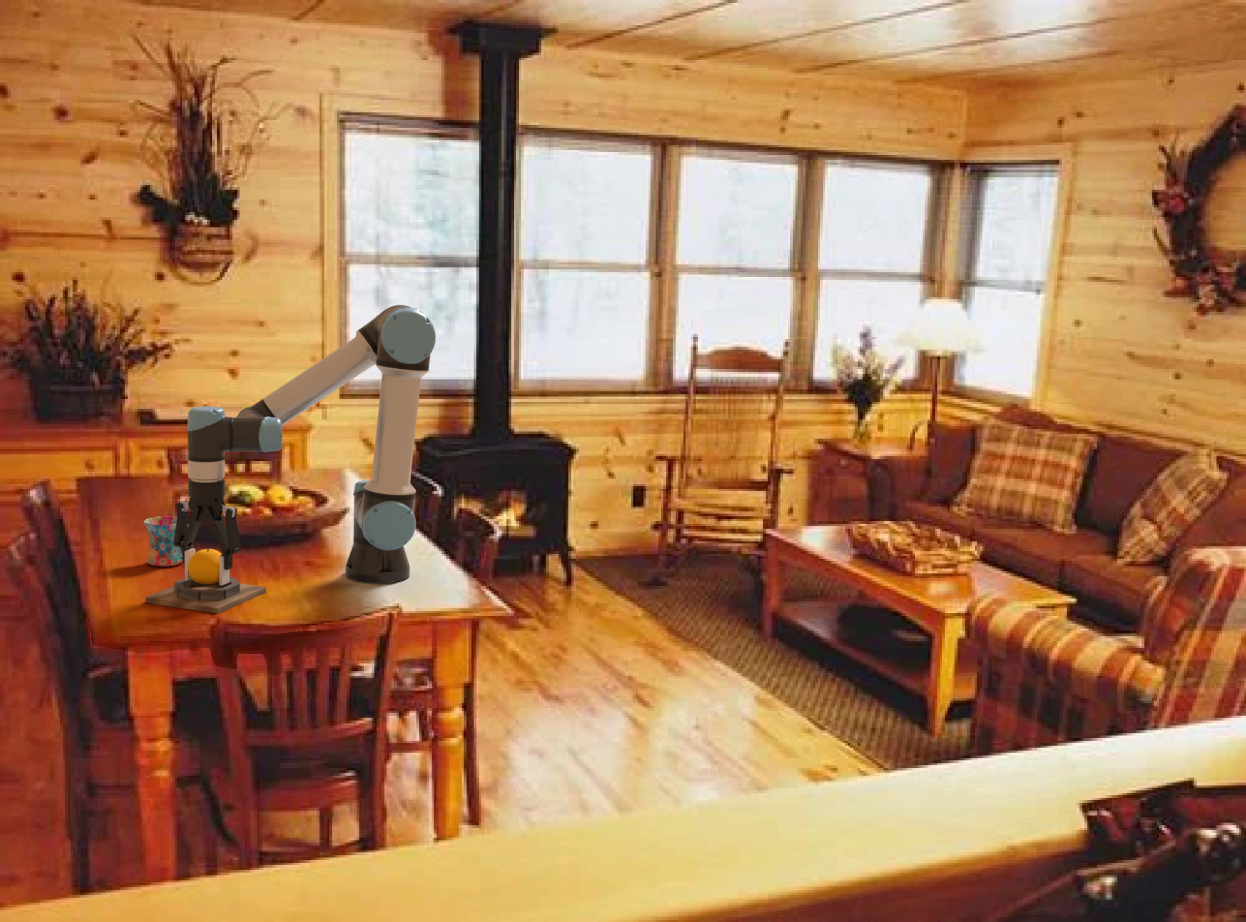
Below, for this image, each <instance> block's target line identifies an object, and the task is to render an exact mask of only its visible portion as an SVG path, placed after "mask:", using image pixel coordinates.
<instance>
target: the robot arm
mask: <svg viewBox="0 0 1246 922" xmlns="http://www.w3.org/2000/svg"><path fill="white" fill-rule="evenodd" d="M436 335H437V334H436V329H435V326H434V324H433V322H432V320H431V319H430V318H429V316H427V314H425V313H424V312H422V311H421V310H419V309H417V308H414V307H411V306H408V305H404V304H396V305H392V306H389V307H387V308H386V309H384V310H383V311H381V312H380V313H379V314H378V315H376V316H375V317H374V318H372V319H371V320H370V321H369V322H367V323H366V324H365V325H364V326H363V325H362V327H360V328H359V329H358V330H356V331H355V337H353V339H351V340H349V341H347V342H346V343H345V344H343V345H342V346H340V347H339V348H337V349H335V350H334V351H332V352H331V353H330V354H327V355H326V357H323V358H322V359H321V360H319V361H317V362H316V363H314V364H313V365H311V366H310V367H308V368H307V369H305V370H304V371H302V372H301V373H300V374H298V375H297V376H295V377H293V378H292V379H290V380H289V381H287V382H286V383H284V384H283V385H281V386H280V387H278V388H277V389H275V390H274V391H273V392H271V393H269V394H268V395H267V396H265V397H263V398H262V399H261V400H259V401H257V402H255V404H253V405H251V406H246V407H245V408H243V409H241V410H240V411H239V412H238V414H237V416H234V417H233V416H226V412H225V409H224V408H222V407H219V406H208V405H207V406H196V407H192V408H190V410H189V411H188V413H187V432H186V433H187V477H188V478H189V480H188V481H187V482H188V483H187V488H188V489H187V492H188V493H187V496H188V497H189V500H188V501H186V500H183V501H180V502H176V512H177V515H176V517H177V522H176V529H175V536H174V543H173V544H174V546H178V547H180V549H182V550H181V553H182V564H183V565H184V578H185V580H190V579H192V578H191V576H190V574H189V571H188V564H189V561H190V559H191V557H192V556H193V555H194V554H195V553H196V548H194V547H195V545H194V543H195V540H196V537H197V535H198V533H199V530H200V528H201V525H202V523H203V522H205V523H209V525H210V527H212V530H213V533H214V534H215V538H216V540H217V542H218V545H219V548H220V551H221V555H220V556H219V585H224V584H227V583H229V582H230V577H231V576H230V572H231V571H230V570H231V569H233V563H234V562H233V557H234V554H237V553H239V552H241V550H242V546H241V541H240V535H239V527H238V521H237V520H238V519H237V515H238V508H237V506H234V507H230V506H227V505H226V502H225V500H224V499H225V495H226V481H225V480H224V478H225V477H226V476H225V475H226V468H225V467H226V466H225V465H226V463H225V461H226V457H225V453H226V452H229V453H232V452H237V453H238V452H248V453H249V452H250V453H251V452H255V453H257V452H258V453H259V452H260V453H262V452H263V453H268V452H279V451H281V449H282V447H283V426H285V425H286V424H288V422H290V421H292V420H293V419H295V418H296V417H298V416H299V415H301V414H303V413H304V412H305V411H307V410H309V409H310V408H312V407H313V406H314V405H316V404H317V403H319V402H321V401H322V400H323V399H325V398H327V397H328V396H330V395H331V394H332V393H334V392H335V391H337V390H339V389H340V388H341V387H343V386H345V385H346V384H348V383H349V382H351V381H352V380H354V379H355V378H357V377H358V376H359V375H361V374H363V373H364V372H365V371H367V370H368V369H371V368H372V367H373V366H376V368H377V369H378V371H380V372H381V382H380V389H379V390H380V391H379V400H378V401H379V403H378V411H377V422H376V429H375V432H376V433H375V439H374V452H373V460H372V468H371V469H372V470H371V478H370V480H367V479H366V480H359V481H357V482H356V483H355V484H354V488H353V489H354V491H353V493H352V495H353V533H352V534H353V540H352V541H353V543H352V546H351V549H350V552H349V555H348V557H347V558H348V559H347V561H346V564H345V569H344V575H345V577H346V579H349V580H351V581H354V582H360V583H366V584H367V583H368V584H386V583H388V584H389V583H390V584H391V583H395V582H401V581H404V580H406V579H408V578H410V576H411V567H410V562H409V559H408V556H407V552H406V549H405V547H404V546H406V545H407V544H408V543H409V542H411V539H412V538H413V537H414V534H415V532H416V526H417V521H416V517H415V512H414V511H415V503H416V494H417V493H416V492H417V490H416V489H415V487H414V486H413V485H412V483H411V475H412V468H413V456H414V447H415V440H416V430H417V429H416V428H417V421H418V419H417V418H418V409H419V401H420V400H419V399H420V390H421V383H422V382H421V381H422V378H423V377H424V376H425V375H426V374H427V373H429V372H430V371H429V370H430V364H431V354H432V352H433V350H434V348H435V345H436V341H437V340H436V337H437V336H436ZM190 511H191V512H192V514H191V516H190ZM223 516H224V517H223ZM189 518H190V519H189ZM188 524H189V526H188V527H187V525H188Z"/></svg>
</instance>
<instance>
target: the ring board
mask: <svg viewBox="0 0 1246 922" xmlns="http://www.w3.org/2000/svg"><path fill="white" fill-rule="evenodd" d="M264 594H267V587H266V586H262V585H253V584H246V583H242V582H241V583H240V582H239V581H238V579H237V578H236V577H233V576H230V582H229V583H227V584H224V585H219V582H216V583H213V584H201V583H197V582H195V581H194V580H193V579H190V580H185V577H184V578H182V579H178V580H177V581H174V582H173V586H171V587H168V588H164V589H163V590H161V591H158V592H154V593H152V594H149V595H147V596H145V598H144V599H145V600H144V602H145V603H146V604H152V605H160V606H164V607H165V606H166V607H174V608H178V609H184V610H192V611H198V612H206V613H211V614H212V613H213V614H218V615H219V614H220V613H222V612H225V611H227V610H230V609H232V608H234V607H237V606H238V605H241V604H243V603H245V602H248V601H250V600H252V599H254V598H257V597H259V596H261V595H264Z"/></svg>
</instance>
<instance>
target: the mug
mask: <svg viewBox="0 0 1246 922" xmlns="http://www.w3.org/2000/svg"><path fill="white" fill-rule="evenodd" d="M176 522H177V516H171V515H170V516H154V517H149V518H147V519H144V520H143V524H144V526H145V528H146V531H147V533H148V537H149V552H148V556H147V558H146V563H147V564H148V565H151V566H154V567H173V566H177V565H180V564H181V563H182V549H181V548H180V547H178V546H174V544H173V543H174V536H175V529H176ZM189 524H190V523H188V525H187V528H188V527H189ZM182 564H183V563H182Z"/></svg>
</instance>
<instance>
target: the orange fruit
mask: <svg viewBox="0 0 1246 922" xmlns="http://www.w3.org/2000/svg"><path fill="white" fill-rule="evenodd" d="M221 554H222V552H220V551H218V550H217V549H214V548H203V549H200V550H198V551H195V554H194V555H193V556H192V557H191V559H190V561H189V564H188V571H189V574H190V576H191V578H192V579H193V580H194V581H195V582H197V583H201V584H213V583H216V582H219V556H220V555H221Z"/></svg>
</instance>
